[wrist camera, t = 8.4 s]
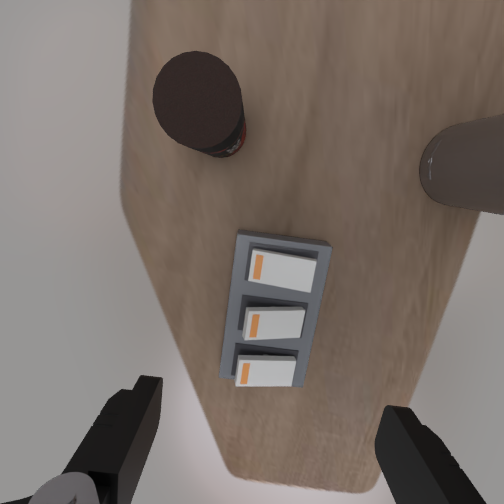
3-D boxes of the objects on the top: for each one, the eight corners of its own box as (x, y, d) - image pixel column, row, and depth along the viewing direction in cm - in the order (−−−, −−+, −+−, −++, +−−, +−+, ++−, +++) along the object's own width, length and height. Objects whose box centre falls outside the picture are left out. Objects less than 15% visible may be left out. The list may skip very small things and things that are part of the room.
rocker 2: (299, 304, 38) (305, 310, 36) (294, 330, 38) (300, 338, 37) (244, 304, 35) (249, 311, 34) (240, 332, 36) (244, 340, 35)
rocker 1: (316, 257, 34) (316, 261, 33) (310, 287, 35) (310, 293, 34) (254, 247, 35) (252, 250, 34) (250, 276, 36) (247, 281, 35)
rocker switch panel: (326, 241, 38) (333, 247, 35) (299, 372, 43) (303, 388, 40) (238, 229, 38) (237, 234, 35) (220, 363, 43) (218, 378, 40)
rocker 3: (292, 353, 39) (296, 361, 37) (287, 377, 40) (291, 386, 38) (237, 352, 37) (239, 360, 36) (234, 377, 38) (235, 387, 37)
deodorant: (230, 167, 36) (216, 165, 21) (184, 140, 35) (137, 119, 21) (255, 120, 35) (258, 83, 20) (209, 91, 34) (176, 31, 19)
